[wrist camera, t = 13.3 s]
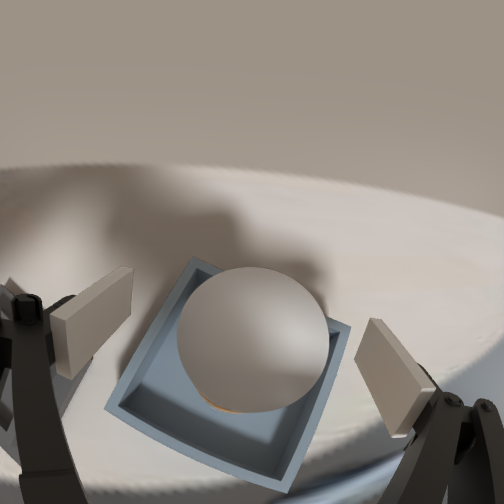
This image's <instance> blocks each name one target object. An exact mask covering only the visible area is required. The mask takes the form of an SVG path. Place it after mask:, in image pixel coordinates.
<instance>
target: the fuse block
mask: <svg viewBox="0 0 504 504" xmlns="http://www.w3.org/2000/svg"><path fill="white" fill-rule="evenodd" d="M12 298H14V296H13V295H12V294H11V293H10V292H9V291H8V290H7V289H6V288H5V287H4V286H3V285H2V284H1V285H0V310H1V316H2V318H3V319H8V320H12V321H13V314H12V306H11V300H12ZM91 362H92V360H91V359H90V360H89V361H88V362H87V363H86V364H85V366H84V367H83V368H82V369H81V370H80V371H79V372H78V374H77V375H76V376H75V377H74V378H73V379H72V380H71V379H68V378H66V377H64V376H62V375H60V374H57V370H56V364H55V363H54V364H53V365H52V366H51V367H50V370H51V376H52V381H53V386H54V391H55V396H56V401H57V405H58V409H59V413H60V417H61V418H62V416H63V414H64V412H65V410H66V408H67V406H68V404H69V403H70V401H71V399H72V397H73V395H74V393H75V391H76V389H77V387H78V386H79V384H80V382H81V380H82V378H83V376H84V375H85V373H86V371H87V369H88V367H89V366H90V364H91ZM0 446H1V447H2V448H3V449H4V450H5V451H6V452H7V453H8V454H9V455H10V456H11V457H12V458H13V459H14V460H15V461H16V462H17V463H18V464H19V465H20V466H21V463H20V458H19V452H18V446H17V439H16V432H15V423H14V413H13V400H12V370H11V369H10V371H9V374H8V377H7V380H6V383H5V386H4V390H3V393H2V397H1V400H0Z"/></svg>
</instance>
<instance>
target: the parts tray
mask: <svg viewBox="0 0 504 504" xmlns="http://www.w3.org/2000/svg"><path fill="white" fill-rule="evenodd" d="M221 272H224V271H223V270H221V269H219V268H217V267H215V266H213V265H210V264H208V263H206V262H204V261H202V260H200V259H198V258H195V257H192V259H191V260H190V262H189V263H188V265H187V266H186V268H185V270H184V271H183V273H182V274H181V276H180V278H179V279H178V281H177V282H176V284H175V286H174V287H173V289H172V291H171V292H170V294H169V295H168V297H167V299H166V300H165V302H164V304H163V305H162V307H161V309H160V310H159V312H158V314H157V315H156V317H155V319H154V320H153V322H152V324H151V325H150V327H149V329H148V331H147V332H146V334H145V336H144V337H143V339H142V341H141V343H140V344H139V346H138V348H137V350H136V351H135V353H134V355H133V357H132V358H131V360H130V362H129V364H128V365H127V367H126V369H125V371H124V372H123V374H122V376H121V378H120V380H119V381H118V383H117V385H116V387H115V389H114V391H113V392H112V394H111V396H110V398H109V400H108V402H107V404H106V405H105V407H104V409H105V410H106V411H108V412H109V413H111V414H112V415H114V416H115V417H117V418H118V419H120V420H122V421H123V422H125V423H126V424H128V425H130V426H131V427H133V428H135V429H136V430H138V431H140V432H142V433H143V434H145V435H147V436H149V437H150V438H152V439H154V440H156V441H158V442H160V443H161V444H163V445H165V446H167V447H169V448H171V449H173V450H175V451H177V452H179V453H181V454H183V455H185V456H187V457H190V458H192V459H194V460H196V461H198V462H200V463H203V464H205V465H207V466H210V467H212V468H214V469H217V470H219V471H222V472H224V473H227V474H229V475H232V476H235V477H237V478H240V479H243V480H246V481H249V482H252V483H255V484H258V485H261V486H264V487H267V488H270V489H274V490H277V491H280V492H284V493H287V492H288V490H289V488H290V486H291V484H292V482H293V480H294V478H295V476H296V474H297V472H298V469H299V467H300V465H301V463H302V461H303V459H304V456H305V454H306V452H307V450H308V447H309V445H310V443H311V440H312V438H313V435H314V433H315V431H316V428H317V426H318V423H319V421H320V418H321V416H322V413H323V410H324V408H325V405H326V402H327V400H328V397H329V394H330V391H331V389H332V386H333V383H334V380H335V377H336V374H337V371H338V368H339V365H340V362H341V359H342V356H343V353H344V350H345V346H346V343H347V340H348V337H349V333H350V330H351V327H350V326H348V325H346V324H343V323H341V322H339V321H336V320H334V319H332V318H329V317H327V316H325V315H324V317H325V319H326V323H327V327H328V333H329V351H328V357H327V361H326V364H325V367H324V369H323V372H322V374H321V376H320V377H319V379H318V380H317V382H316V383H315V384H314V386H313V387H312V388H311V389H310V390H309V391H308V392H307V393H306V394H305V395H304V396H303V397H301V398H300V399H298V400H297V401H295V402H294V403H292V404H290V405H288V406H286V407H283V408H280V409H277V410H273V411H268V412H259V413H241V414H228V413H223V412H219V411H217V410H215V409H213V408H211V407H210V406H209V405H208V404H207V403H205V401H204V400H203V399H202V398H201V396H200V394H199V393H198V391H197V390H196V388H195V386H194V385H193V383H192V381H191V380H190V378H189V376H188V375H187V373H186V371H185V370H184V367H183V365H182V362H181V360H180V357H179V352H178V347H177V327H178V322H179V318H180V315H181V312H182V310H183V308H184V306H185V304H186V302H187V300H188V299H189V297H190V296H191V294H192V293H193V292H194V291H195V290H196V289H197V288H198V287H199V286H200V285H201V284H202V283H204V282H205V281H206V280H208V279H209V278H211V277H213V276H215V275H217V274H219V273H221Z"/></svg>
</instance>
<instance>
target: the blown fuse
mask: <svg viewBox="0 0 504 504" xmlns="http://www.w3.org/2000/svg"><path fill="white" fill-rule="evenodd" d="M177 347H178V352H179V357H180V360H181V362H182V365H183V367H184V370H185V371H186V373H187V375H188V376H189V378H190V380H191V381H192V383H193V385H194V386H195V388H196V390H197V391H198V393H199V394H200V396H201V398H202V399H203V400H204V401H205V403H207V404H208V405H209V406H210V407H211V408H213V409H215V410H217V411H219V412H223V413H228V414H241V413H259V412H268V411H273V410H277V409H280V408H283V407H286V406H288V405H290V404H292V403H294V402H295V401H297V400H298V399H300V398H301V397H303V396H304V395H305V394H306V393H307V392H308V391H309V390H310V389H311V388H312V387H313V386H314V384H315V383H316V382H317V380H318V379H319V377H320V376H321V374H322V372H323V369H324V367H325V364H326V361H327V357H328V351H329V333H328V327H327V323H326V319H325V317H324V314H323V312H322V310H321V308H320V306H319V305H318V303H317V302H316V300H315V299H314V297H313V296H312V295H311V294H310V293H309V292H308V291H307V290H306V289H305V288H304V287H303V286H302V285H301V284H300V283H298V282H297V281H295V280H294V279H292V278H290V277H288V276H287V275H285V274H282V273H280V272H277V271H274V270H270V269H267V268H260V267H241V268H235V269H230V270H227V271H224V272H221V273H219V274H217V275H215V276H213V277H211V278H209V279H208V280H206V281H205V282H204V283H202V284H201V285H200V286H199V287H198V288H197V289H196V290H195V291H194V292H193V293H192V294H191V296H190V297H189V299H188V300H187V302H186V304H185V306H184V308H183V310H182V312H181V315H180V318H179V322H178V327H177Z"/></svg>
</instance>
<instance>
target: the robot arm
mask: <svg viewBox="0 0 504 504" xmlns="http://www.w3.org/2000/svg"><path fill="white" fill-rule="evenodd" d="M133 274H134V269H132V268H128V267H124V266H120V267H119V268H117V269H116V270H114V271H113V272H111V273H110V274H108V275H107V276H105V277H103V278H102V279H100V280H99V281H97V282H96V283H94V284H93V285H91V286H90V287H88V288H87V289H85V290H84V291H82V292H81V293H79V294H78V295H70V296H66V297H64V298H62V299H61V300H59V301H58V302H56V303H55V304H53V306H50V307H49V308H47V309H46V310H44V311H43V309H42V300H41V298H40V297H38V296H37V295H33V294H20V295H17V296H15V297H14V298H12V300H11V306H12V314H13V321H12V320H8V319H3V318H2V316H1V310H0V400H1V397H2V393H3V390H4V386H5V383H6V380H7V377H8V374H9V371H10V369H11V370H12V400H13V413H14V423H15V432H16V439H17V446H18V452H19V458H20V463H21V468H22V474H19V483H20V488H21V492H22V496H23V500H24V503H25V504H90V502H89V500H88V497H87V495H86V492H85V490H84V488H83V485H82V483H81V480H80V478H79V475H78V472H77V469H76V467H75V464H74V461H73V458H72V455H71V452H70V449H69V446H68V443H67V439H66V436H65V432H64V429H63V425H62V421H61V417H60V413H59V409H58V405H57V401H56V396H55V391H54V386H53V381H52V376H51V370H50V367H51V366H52V365H53V364H54V363H55V364H56V370H57V374H60V375H62V376H64V377H66V378H68V379H71V380H72V379H73V378H74V377H75V376H76V375H77V374H78V372H79V371H80V370H81V369H82V368H83V367H84V366H85V364H86V363H87V362H88V361H89V360H90V359H91V358H92V356H93V355H94V354H95V353H96V352H97V351H98V350H99V349H100V348H101V346H102V345H103V344H104V343H105V342H106V341H107V340H108V339H109V337H110V336H111V335H112V334H113V333H114V332H115V331H116V330H117V329H118V328H119V327H120V325H121V324H122V323H123V322H124V321H125V320H126V319H127V318H128V317H129V316H130V315H131V299H132V286H133ZM354 360H355V362H356V364H357V366H358V368H359V370H360V372H361V374H362V376H363V378H364V380H365V382H366V385H367V387H368V389H369V391H370V393H371V395H372V397H373V399H374V401H375V403H376V405H377V407H378V410H379V412H380V414H381V416H382V418H383V420H384V422H385V425H386V427H387V429H388V431H389V433H390V436H391V438H399V437H406V436H407V434H408V433H409V431H410V430H411V428H412V427H413V428H414V430H415V432H416V433H415V434H414V436H413V437H412V439H411V440H410V441H409V443H408V444H407V445H406V447H405V448H404V449H403V450H404V451H406V452H405V454H404V456H403V458H402V460H401V462H400V464H399V466H398V468H397V470H396V472H395V474H394V476H393V477H392V479H391V481H390V483H389V485H388V486H387V488H386V490H385V492H384V493H383V495H382V497H381V499H380V500H379V502H378V504H442V501H443V498H444V495H445V492H446V488H447V485H448V504H504V428H503V425H502V422H501V419H500V416H499V413H498V410H497V408H496V406H495V405H494V404H493V402H491V401H489V400H486V399H481V398H480V399H478V400H477V401H476V402H475V404H474V405H473V407H468V406H464V403H463V401H462V400H461V399H460V398H459V397H458V396H457V395H454V394H452V393H450V392H442V390H441V389H440V388H439V386H438V385H437V384H436V383H435V381H434V380H433V379H432V377H431V376H430V375H428V372H427V371H426V370H425V369H424V367H422V366H421V365H420V364H418V363H417V362H416V361H415V360H414V359H413V357H412V356H411V355H410V354H409V352H408V351H407V350H406V349H405V347H404V346H403V345H402V344H401V342H400V341H399V340H398V339H397V338H396V336H395V335H394V334H393V333H392V331H391V330H390V329H389V328H388V327H387V325H386V324H385V323H384V322H383V321H382V320H381V319H375V318H370V320H369V322H368V325H367V328H366V330H365V333H364V335H363V338H362V341H361V343H360V346H359V348H358V351H357V353H356V355H355V358H354Z"/></svg>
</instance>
